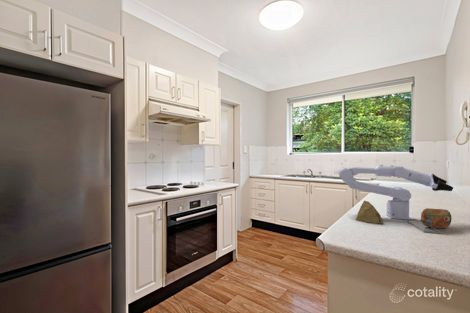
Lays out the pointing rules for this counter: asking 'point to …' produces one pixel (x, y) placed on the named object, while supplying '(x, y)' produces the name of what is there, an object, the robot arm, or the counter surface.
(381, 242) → the counter surface
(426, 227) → the gray sheet
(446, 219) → the tin
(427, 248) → the counter surface
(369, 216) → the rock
